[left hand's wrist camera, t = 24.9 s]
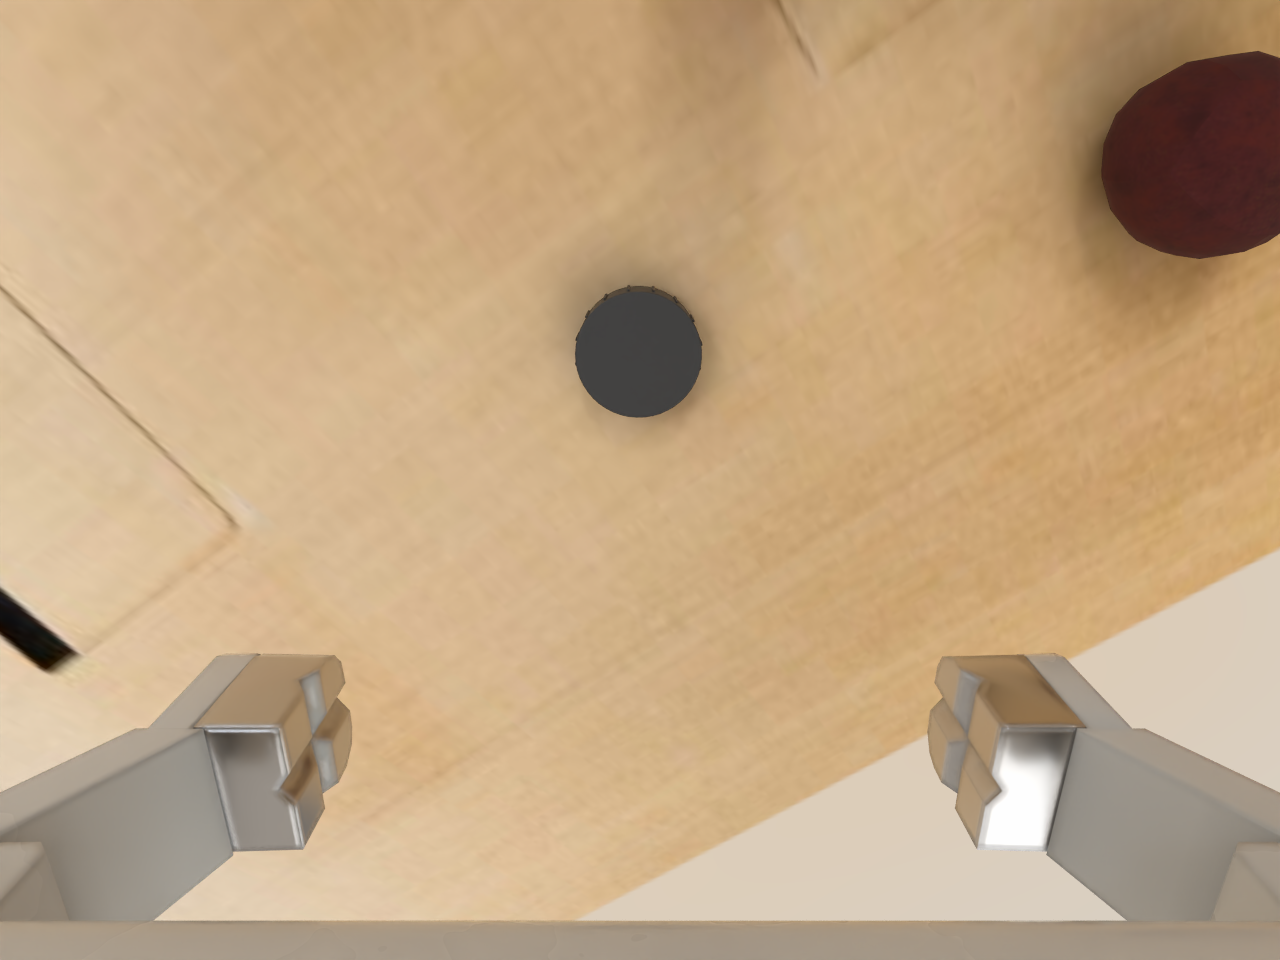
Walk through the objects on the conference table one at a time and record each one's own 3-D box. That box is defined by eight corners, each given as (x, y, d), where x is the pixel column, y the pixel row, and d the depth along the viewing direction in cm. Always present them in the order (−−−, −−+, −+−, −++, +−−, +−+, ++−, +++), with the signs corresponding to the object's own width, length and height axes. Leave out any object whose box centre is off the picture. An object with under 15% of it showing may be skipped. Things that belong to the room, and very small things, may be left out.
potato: (1165, 280, 34) (1290, 298, 28) (1029, 198, 33) (1126, 197, 27) (1280, 123, 32) (1445, 102, 26) (1138, 30, 31) (1274, -18, 24)
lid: (560, 310, 35) (554, 318, 33) (675, 266, 34) (677, 271, 32) (604, 421, 37) (602, 435, 35) (714, 381, 36) (719, 393, 34)
